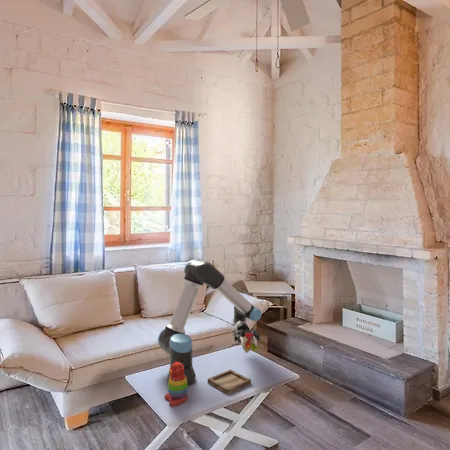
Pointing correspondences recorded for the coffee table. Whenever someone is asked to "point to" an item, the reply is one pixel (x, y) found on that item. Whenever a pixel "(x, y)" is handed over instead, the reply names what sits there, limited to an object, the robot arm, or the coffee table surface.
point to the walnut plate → (229, 381)
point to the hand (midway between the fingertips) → (249, 343)
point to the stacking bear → (177, 385)
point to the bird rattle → (249, 343)
